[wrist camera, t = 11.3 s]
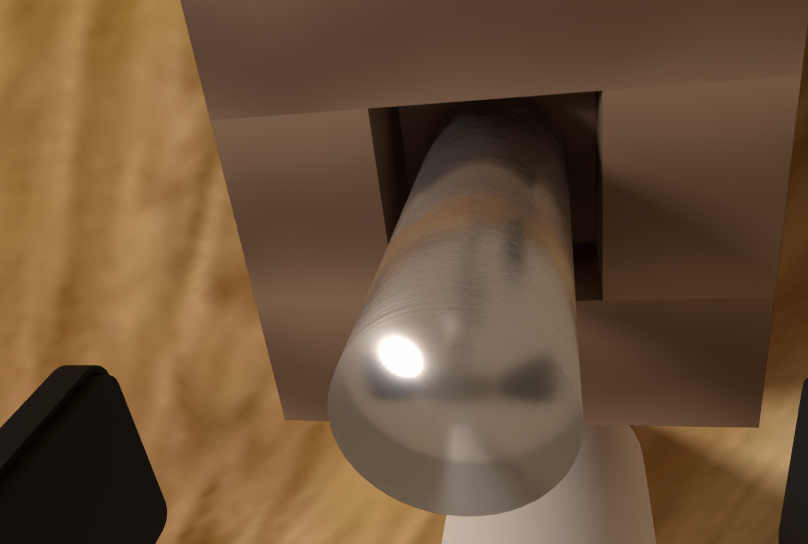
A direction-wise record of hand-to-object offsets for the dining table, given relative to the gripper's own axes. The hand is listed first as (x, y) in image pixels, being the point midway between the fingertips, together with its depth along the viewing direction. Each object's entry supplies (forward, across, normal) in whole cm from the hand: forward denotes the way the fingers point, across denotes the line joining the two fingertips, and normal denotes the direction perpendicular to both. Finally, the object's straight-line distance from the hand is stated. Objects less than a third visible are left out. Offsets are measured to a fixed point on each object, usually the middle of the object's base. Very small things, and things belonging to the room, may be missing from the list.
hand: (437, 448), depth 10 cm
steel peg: (+13, 0, +1) cm, 13 cm away
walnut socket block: (+15, 0, +1) cm, 15 cm away
